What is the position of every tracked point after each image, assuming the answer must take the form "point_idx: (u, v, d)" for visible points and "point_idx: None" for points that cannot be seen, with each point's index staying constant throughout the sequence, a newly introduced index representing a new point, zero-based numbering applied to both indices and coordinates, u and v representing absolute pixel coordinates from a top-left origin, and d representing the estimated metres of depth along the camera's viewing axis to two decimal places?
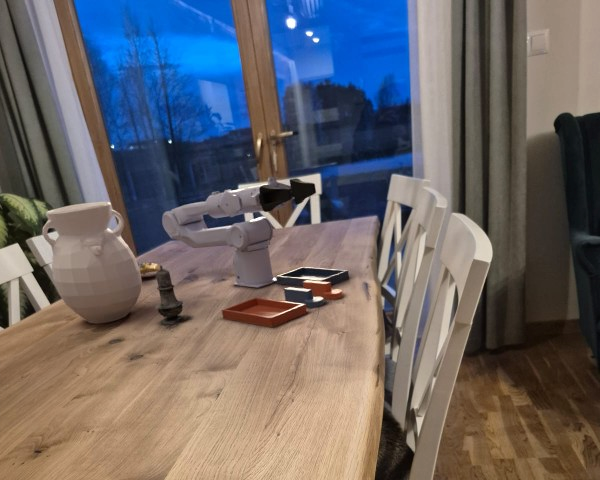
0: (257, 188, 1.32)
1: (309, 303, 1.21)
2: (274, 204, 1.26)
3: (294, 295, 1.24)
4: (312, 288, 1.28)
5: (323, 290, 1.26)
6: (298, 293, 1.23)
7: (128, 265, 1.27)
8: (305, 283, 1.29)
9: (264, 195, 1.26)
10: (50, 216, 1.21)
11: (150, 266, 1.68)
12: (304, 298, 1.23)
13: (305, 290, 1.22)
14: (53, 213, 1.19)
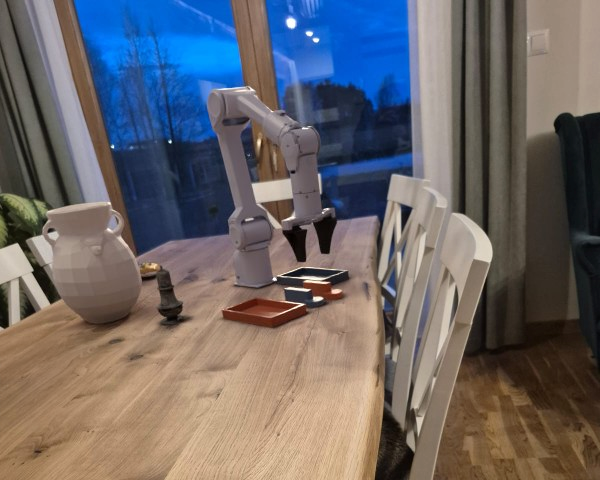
0: (309, 199, 1.18)
1: (309, 303, 1.21)
2: (290, 243, 1.22)
3: (294, 295, 1.24)
4: (312, 288, 1.28)
5: (323, 290, 1.26)
6: (298, 293, 1.23)
7: (128, 265, 1.27)
8: (305, 283, 1.29)
9: None
10: (50, 216, 1.21)
11: (150, 266, 1.68)
12: (304, 298, 1.23)
13: (305, 290, 1.22)
14: (53, 213, 1.19)
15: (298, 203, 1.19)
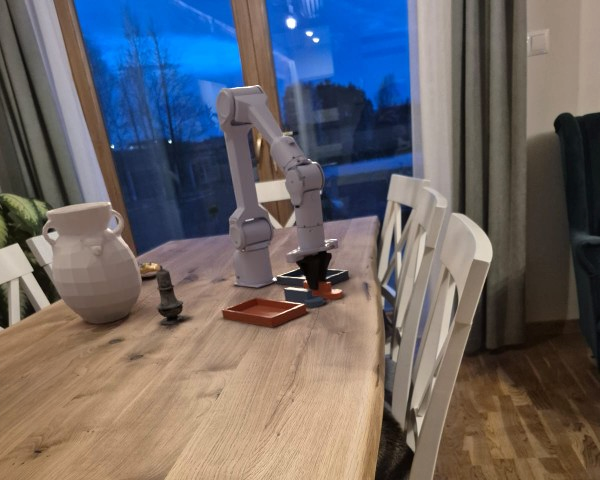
0: (313, 232, 1.21)
1: (309, 303, 1.21)
2: (302, 271, 1.26)
3: (294, 295, 1.24)
4: None
5: (323, 290, 1.26)
6: (298, 293, 1.23)
7: (128, 265, 1.27)
8: (305, 283, 1.29)
9: None
10: (50, 216, 1.21)
11: (150, 266, 1.68)
12: (304, 298, 1.23)
13: (305, 290, 1.22)
14: (53, 213, 1.19)
15: (302, 236, 1.22)
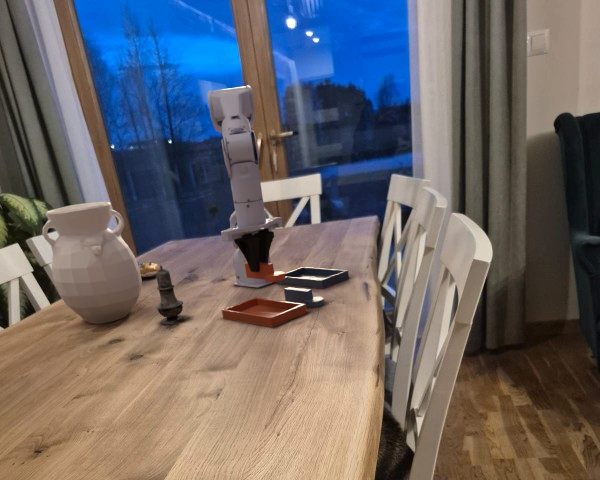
0: (250, 208, 1.10)
1: (309, 303, 1.21)
2: (242, 252, 1.16)
3: (294, 295, 1.24)
4: None
5: (265, 272, 1.16)
6: (298, 293, 1.23)
7: (128, 265, 1.27)
8: (247, 265, 1.19)
9: None
10: (50, 216, 1.21)
11: (150, 266, 1.68)
12: (304, 298, 1.23)
13: (305, 290, 1.22)
14: (53, 213, 1.19)
15: (239, 212, 1.11)
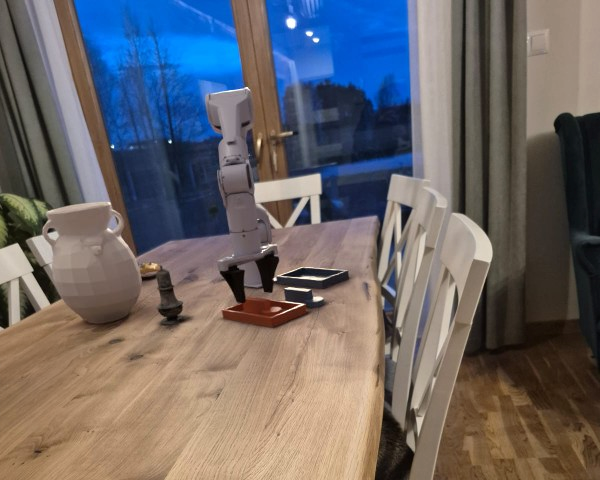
0: (246, 238, 1.12)
1: (309, 303, 1.21)
2: (228, 283, 1.16)
3: (294, 295, 1.24)
4: (251, 305, 1.20)
5: (262, 308, 1.18)
6: (298, 293, 1.23)
7: (128, 265, 1.27)
8: None
9: None
10: (50, 216, 1.21)
11: (150, 266, 1.68)
12: (304, 298, 1.23)
13: (305, 290, 1.22)
14: (53, 213, 1.19)
15: (235, 242, 1.13)
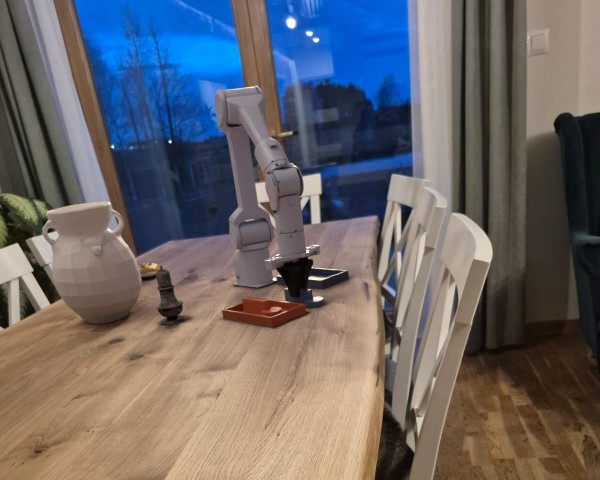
0: (293, 238, 1.17)
1: (309, 303, 1.21)
2: (283, 278, 1.23)
3: None
4: (251, 305, 1.20)
5: (262, 308, 1.18)
6: None
7: (128, 265, 1.27)
8: (244, 300, 1.21)
9: None
10: (50, 216, 1.21)
11: (150, 266, 1.68)
12: (304, 298, 1.23)
13: (305, 290, 1.22)
14: (53, 213, 1.19)
15: (282, 242, 1.18)
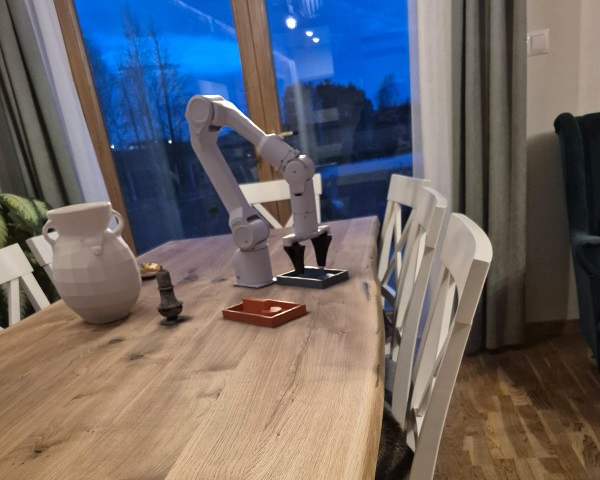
0: (307, 218, 1.33)
1: None
2: (290, 257, 1.37)
3: (308, 272, 1.41)
4: (251, 305, 1.20)
5: (262, 308, 1.18)
6: (312, 270, 1.40)
7: (128, 265, 1.27)
8: (244, 300, 1.21)
9: None
10: (50, 216, 1.21)
11: (150, 266, 1.68)
12: (317, 275, 1.39)
13: (318, 268, 1.39)
14: (53, 213, 1.19)
15: (297, 222, 1.34)
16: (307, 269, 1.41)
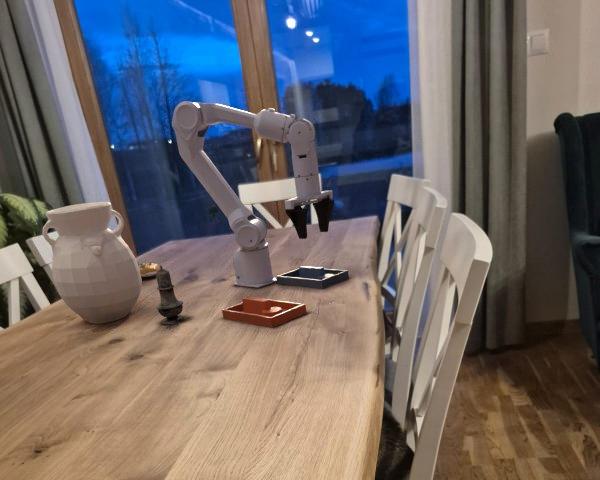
0: (309, 181, 1.32)
1: None
2: (292, 221, 1.36)
3: (308, 272, 1.41)
4: (251, 305, 1.20)
5: (262, 308, 1.18)
6: (312, 270, 1.40)
7: (128, 265, 1.27)
8: (244, 300, 1.21)
9: None
10: (50, 216, 1.21)
11: (150, 266, 1.68)
12: (317, 275, 1.39)
13: (318, 268, 1.39)
14: (53, 213, 1.19)
15: (300, 185, 1.33)
16: (307, 269, 1.41)
